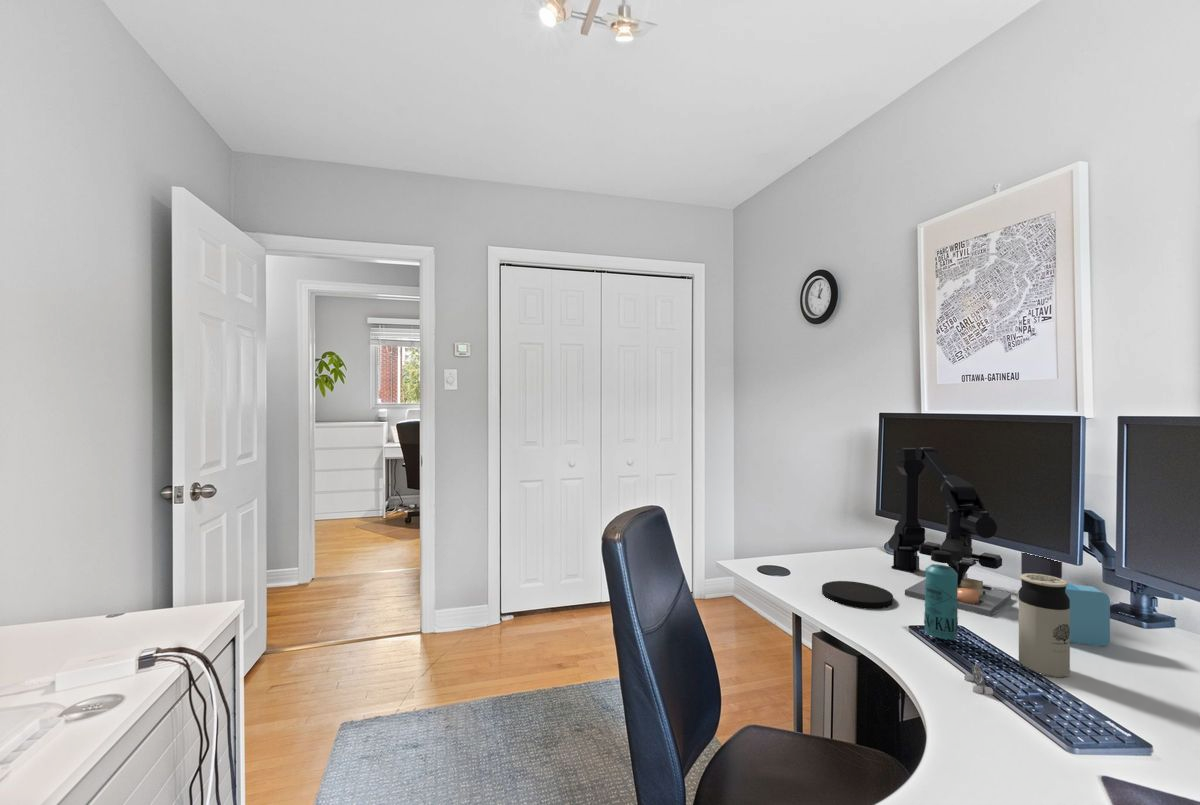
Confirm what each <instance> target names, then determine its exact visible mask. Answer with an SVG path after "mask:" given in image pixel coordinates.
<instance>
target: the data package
mask: <svg viewBox="0 0 1200 805" xmlns="http://www.w3.org/2000/svg"><path fill="white" fill-rule="evenodd" d="M1065 593H1066V594H1067V596H1068V598H1069V599H1070V642H1071V643H1070V644H1078V643H1080V645H1086V644H1088V645H1087V646H1094V645H1098V647H1105V646H1107V645H1109V644H1110V642H1111V598H1110V596H1109V595H1108V594H1107V593H1105V592H1103V591H1102V590H1100V589H1098V588H1096V587H1095V586H1091V585H1082V584H1081V585H1080V584H1079V585H1078V584H1072V583H1071V584H1070V583H1068V586H1066V590H1065Z"/></svg>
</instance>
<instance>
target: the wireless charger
mask: <svg viewBox="0 0 1200 805" xmlns="http://www.w3.org/2000/svg"><path fill="white" fill-rule="evenodd" d="M821 595H822V596H823V595H824V596H825V597H824V596H823V597H824V598H826V599H827V598H828V599H827V600H829V599H830V600H829V601H831V600H832V601H831V602H833V601H834V602H833V603H836V602H837V603H836V604H839V605H843V606H847V607H851V606H852V608H856V607H858V608H859V609H864V608H866V610H880V609H886V608H889V607H891V606H893V604H894V595H893V594H892V592H891V591H888V590H887V589H885V588H882V587H880V586H876V585H873V584H869V583H864V582H859V581H853V580H852V581H851V580H849V581H848V580H834V581H829V582H825V583H823V584H822V586H821Z"/></svg>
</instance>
